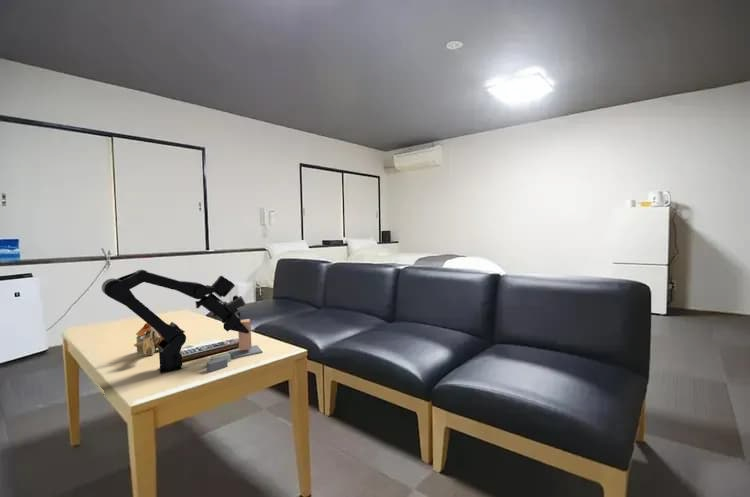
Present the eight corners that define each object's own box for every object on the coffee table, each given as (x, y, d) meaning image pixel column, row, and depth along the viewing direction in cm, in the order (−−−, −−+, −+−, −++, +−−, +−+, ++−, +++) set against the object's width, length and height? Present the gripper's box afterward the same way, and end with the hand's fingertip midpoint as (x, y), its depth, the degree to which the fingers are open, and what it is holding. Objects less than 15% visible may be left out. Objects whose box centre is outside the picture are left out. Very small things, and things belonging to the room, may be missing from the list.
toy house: (167, 346, 150) (165, 315, 150) (154, 364, 131) (151, 327, 130) (145, 349, 148) (143, 317, 147) (128, 367, 128) (125, 330, 127)
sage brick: (214, 366, 127) (213, 358, 127) (211, 364, 129) (210, 356, 129) (230, 362, 131) (230, 354, 131) (227, 360, 133) (227, 352, 133)
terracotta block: (239, 350, 138) (238, 322, 137) (239, 347, 142) (237, 320, 141) (251, 348, 139) (250, 321, 139) (250, 345, 143) (249, 318, 143)
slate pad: (233, 358, 134) (233, 357, 134) (228, 352, 141) (228, 350, 141) (262, 352, 140) (262, 351, 140) (256, 346, 147) (256, 345, 147)
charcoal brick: (210, 372, 122) (210, 364, 122) (206, 370, 124) (206, 362, 124) (227, 367, 126) (227, 359, 126) (223, 365, 128) (223, 357, 128)
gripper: (231, 294, 129) (264, 320, 134) (231, 287, 146) (260, 310, 151) (209, 318, 126) (243, 343, 131) (211, 308, 144) (241, 331, 149)
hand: (248, 330), depth 141 cm, fingers open, 5 cm apart
